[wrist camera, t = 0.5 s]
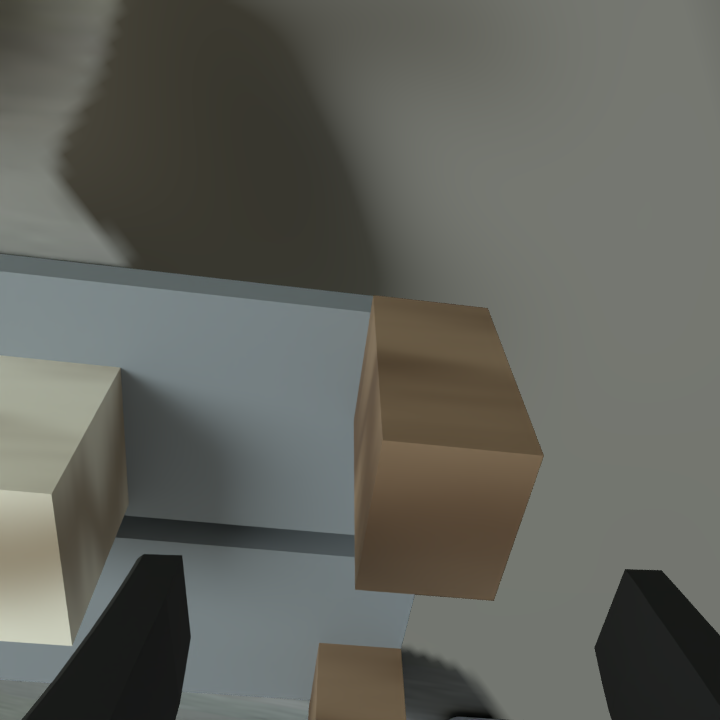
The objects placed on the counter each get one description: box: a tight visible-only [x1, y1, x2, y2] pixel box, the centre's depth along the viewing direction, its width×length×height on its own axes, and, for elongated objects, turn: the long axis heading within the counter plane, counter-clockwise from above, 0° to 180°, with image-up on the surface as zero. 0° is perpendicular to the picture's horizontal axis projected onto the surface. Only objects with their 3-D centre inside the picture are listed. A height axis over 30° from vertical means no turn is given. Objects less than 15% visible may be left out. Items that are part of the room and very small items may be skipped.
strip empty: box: [0, 515, 414, 720], centre depth 22 cm, size 8×18×7 cm, turn 83°
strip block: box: [0, 254, 544, 601], centre depth 17 cm, size 8×18×7 cm, turn 83°
